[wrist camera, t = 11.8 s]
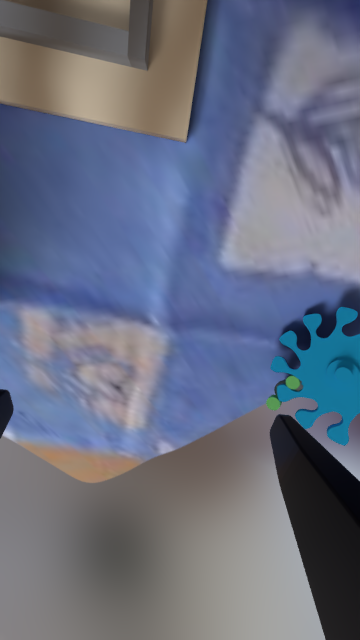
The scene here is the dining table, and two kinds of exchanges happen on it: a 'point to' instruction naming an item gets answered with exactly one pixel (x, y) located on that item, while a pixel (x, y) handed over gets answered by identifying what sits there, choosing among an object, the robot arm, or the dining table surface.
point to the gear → (323, 375)
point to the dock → (103, 61)
